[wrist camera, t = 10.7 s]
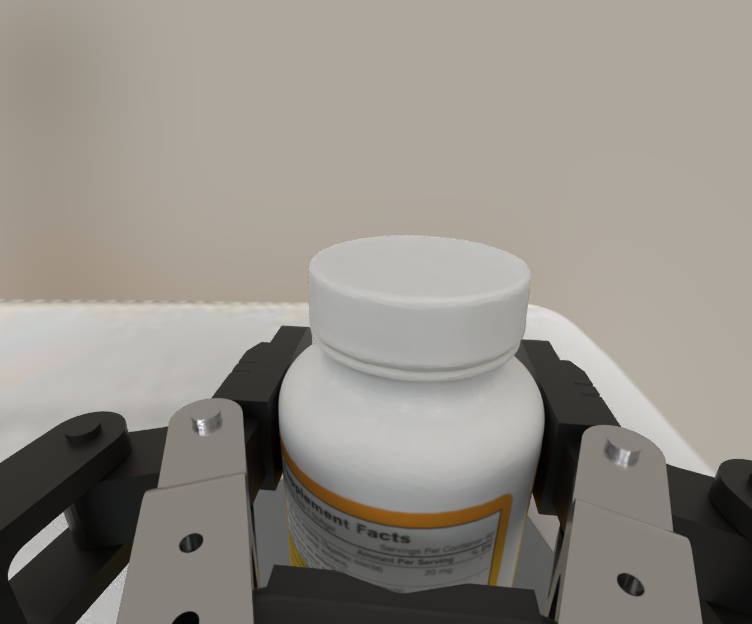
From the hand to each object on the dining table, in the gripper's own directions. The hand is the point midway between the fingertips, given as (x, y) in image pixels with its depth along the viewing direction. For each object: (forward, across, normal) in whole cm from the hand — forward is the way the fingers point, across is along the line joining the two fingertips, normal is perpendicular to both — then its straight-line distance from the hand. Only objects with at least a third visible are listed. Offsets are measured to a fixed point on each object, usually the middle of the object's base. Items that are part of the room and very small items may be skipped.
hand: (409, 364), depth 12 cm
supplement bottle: (-3, 0, +6) cm, 7 cm away
